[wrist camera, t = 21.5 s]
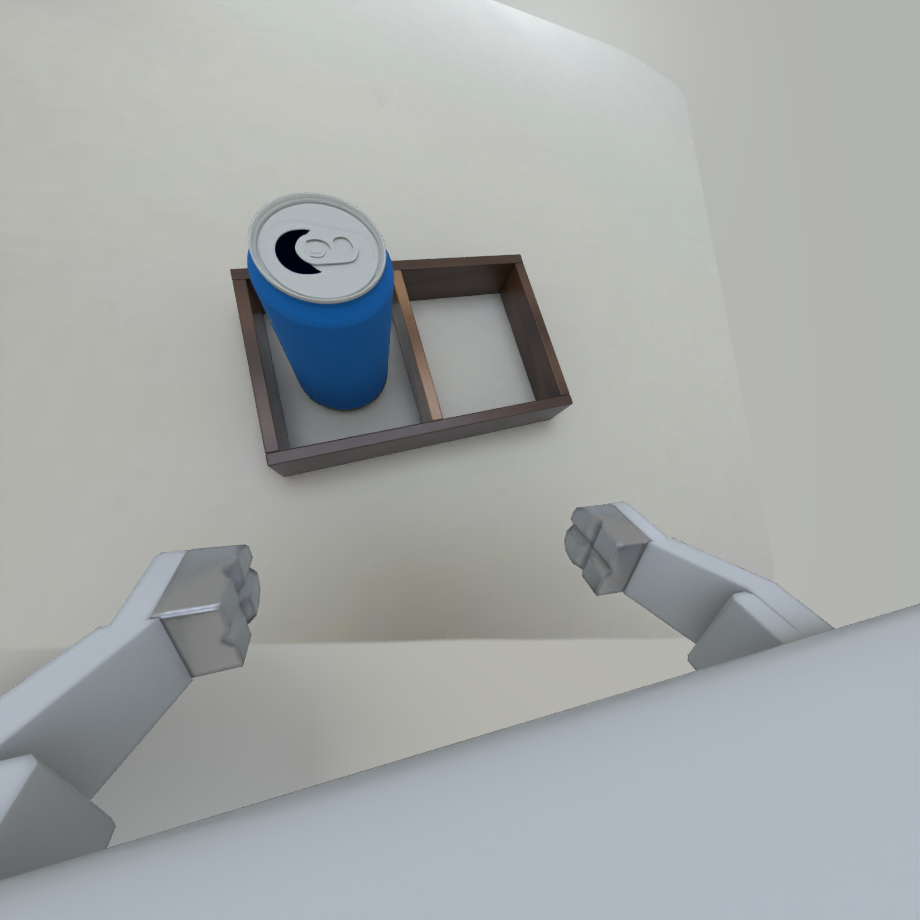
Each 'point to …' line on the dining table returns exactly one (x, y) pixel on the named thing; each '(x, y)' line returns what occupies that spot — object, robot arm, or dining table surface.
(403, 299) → the tray
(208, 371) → the dining table surface
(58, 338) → the dining table surface
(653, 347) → the dining table surface
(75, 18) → the dining table surface
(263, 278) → the beverage can
